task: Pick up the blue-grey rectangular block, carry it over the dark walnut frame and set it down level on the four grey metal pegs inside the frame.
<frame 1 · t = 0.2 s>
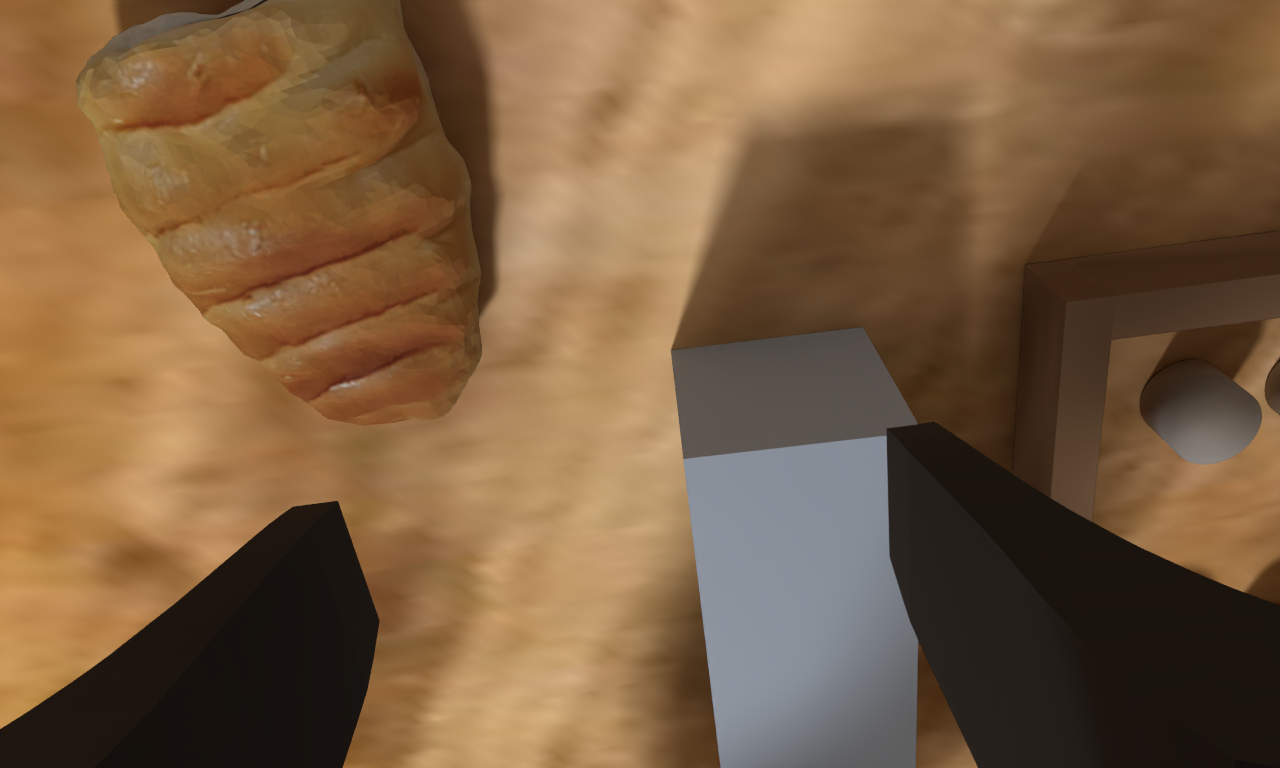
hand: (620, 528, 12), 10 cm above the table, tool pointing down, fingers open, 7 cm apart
peg frame: (1219, 521, 25), on the table
pastry: (335, 174, 20), on the table
blue-grey rectangular block: (779, 539, 25), on the table
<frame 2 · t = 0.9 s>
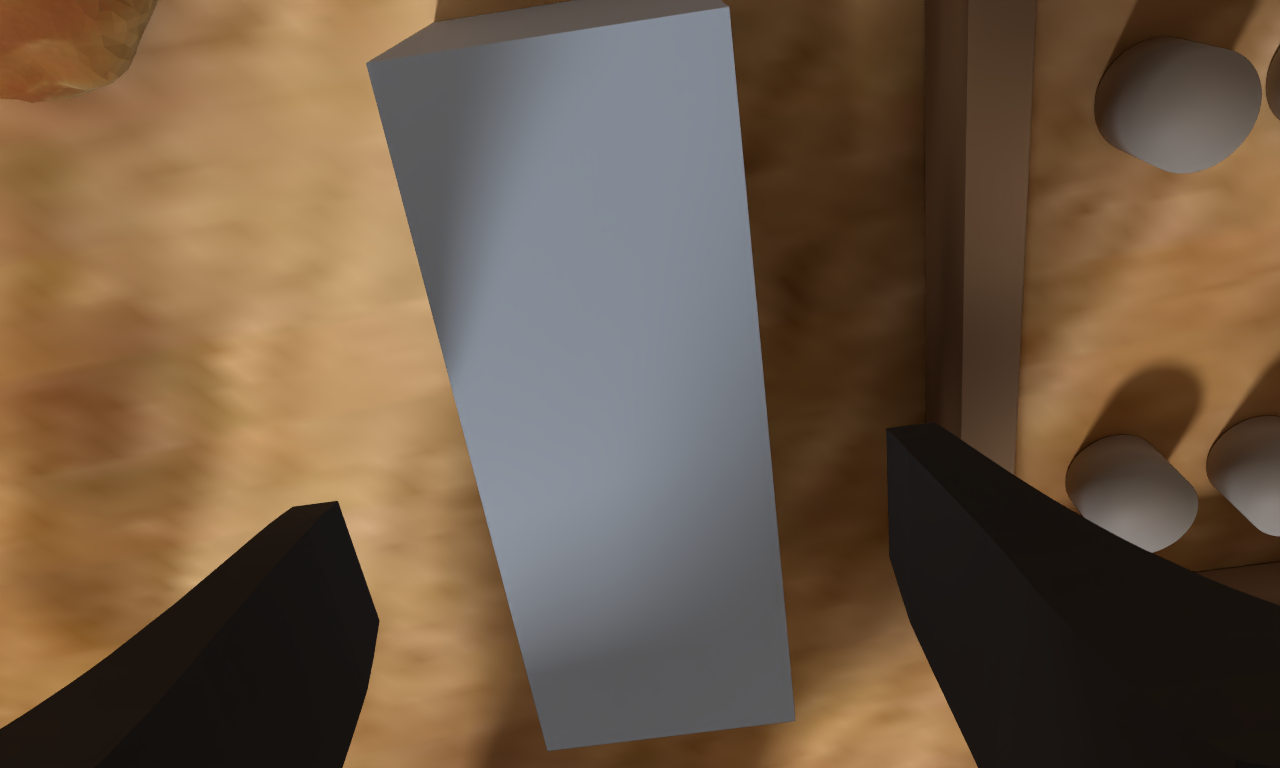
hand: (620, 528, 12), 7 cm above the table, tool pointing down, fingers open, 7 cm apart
peg frame: (1207, 293, 18), on the table
blue-grey rectangular block: (619, 322, 19), on the table
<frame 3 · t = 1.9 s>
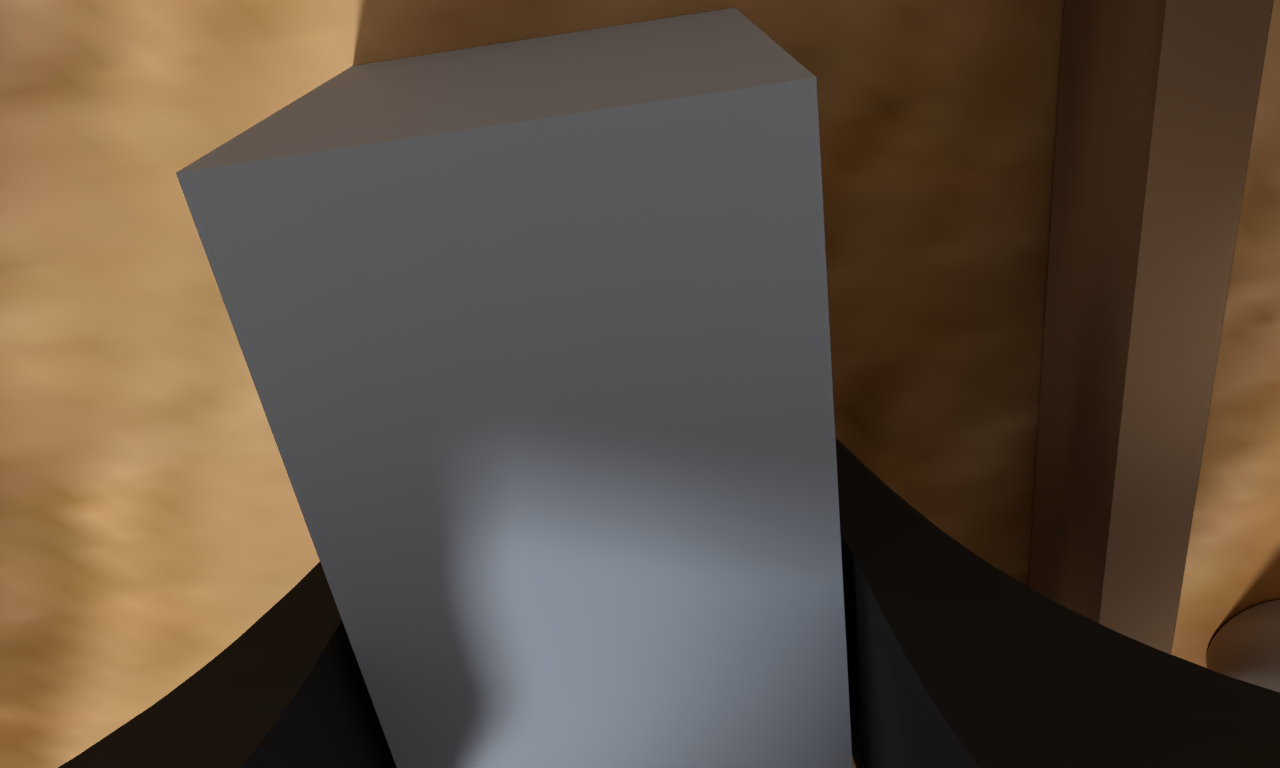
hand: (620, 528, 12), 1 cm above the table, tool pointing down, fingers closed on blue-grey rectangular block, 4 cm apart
blue-grey rectangular block: (619, 467, 14), on the table, touching gripper
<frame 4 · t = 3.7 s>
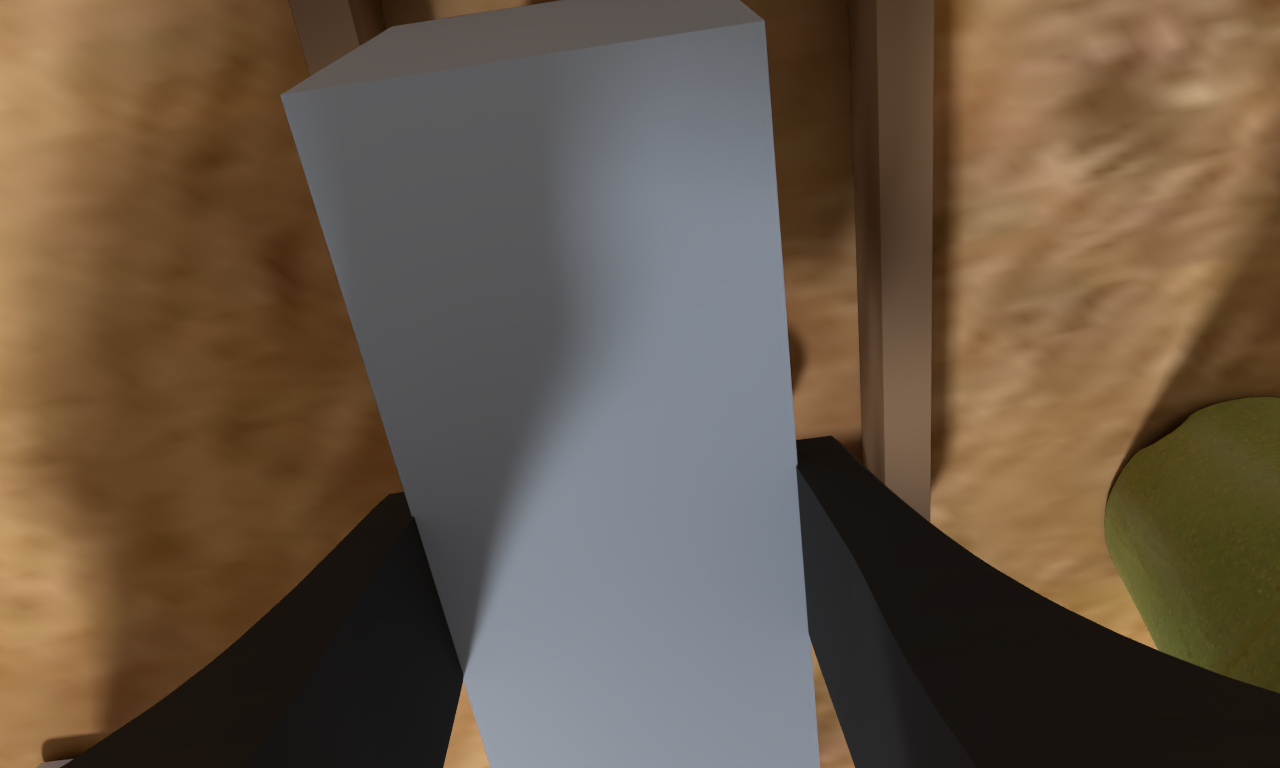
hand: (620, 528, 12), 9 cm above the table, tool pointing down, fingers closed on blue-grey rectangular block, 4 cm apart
plant pot: (1213, 493, 24), on the table
peg frame: (653, 276, 21), on the table
blue-grey rectangular block: (616, 380, 16), point 5 cm above the table, touching gripper
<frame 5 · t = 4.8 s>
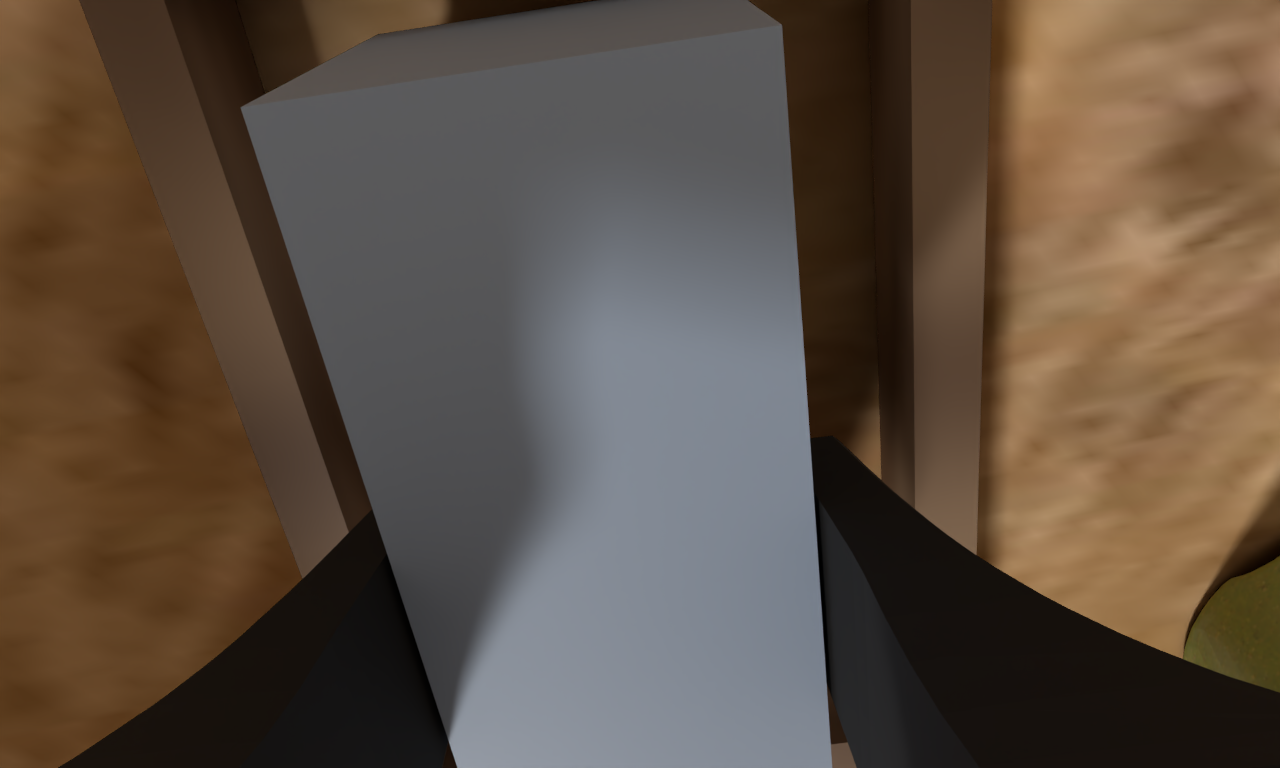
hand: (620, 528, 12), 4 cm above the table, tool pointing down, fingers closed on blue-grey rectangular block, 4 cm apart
peg frame: (618, 378, 16), on the table
blue-grey rectangular block: (617, 410, 15), point 1 cm above the table, touching gripper, peg frame
when the fingers open (4 cm above the table, at t = 5.2 s): blue-grey rectangular block stays where it is, resting on peg frame.
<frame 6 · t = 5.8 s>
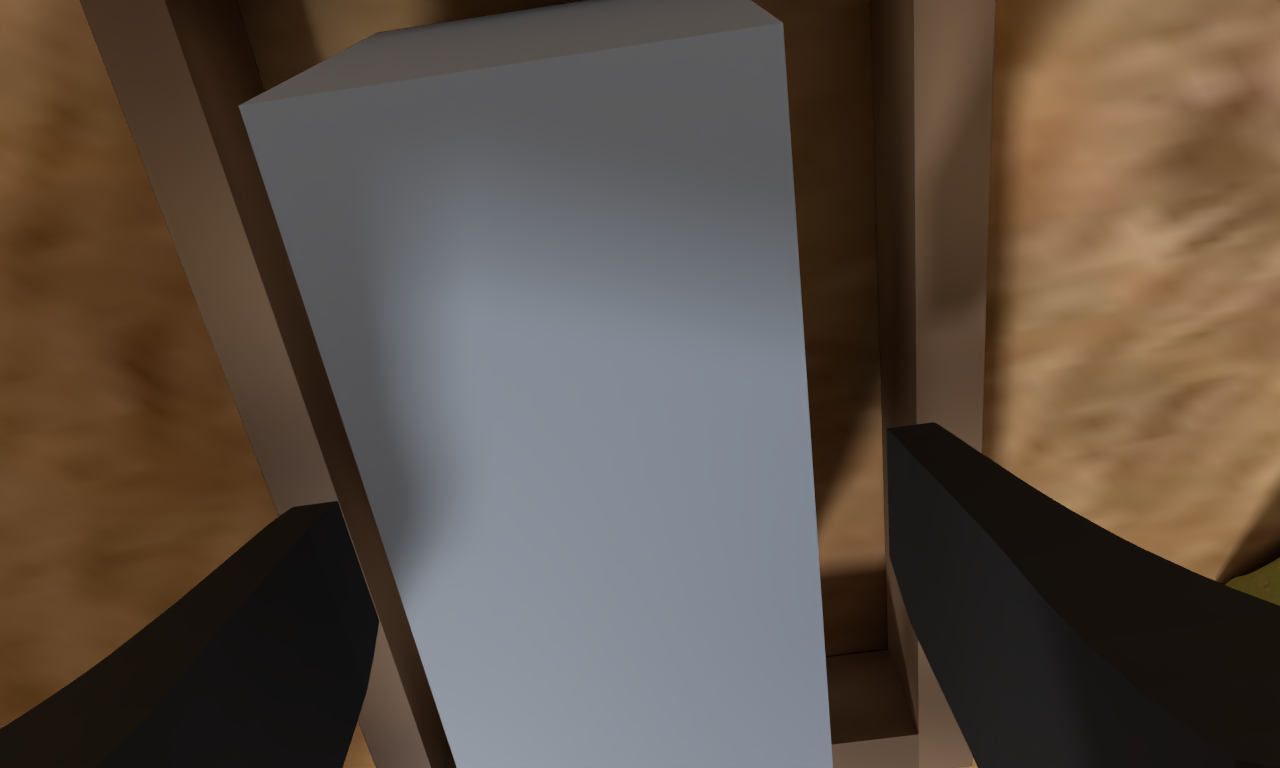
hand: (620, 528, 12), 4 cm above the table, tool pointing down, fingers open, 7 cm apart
peg frame: (619, 377, 16), on the table
blue-grey rectangular block: (618, 410, 15), point 1 cm above the table, touching peg frame
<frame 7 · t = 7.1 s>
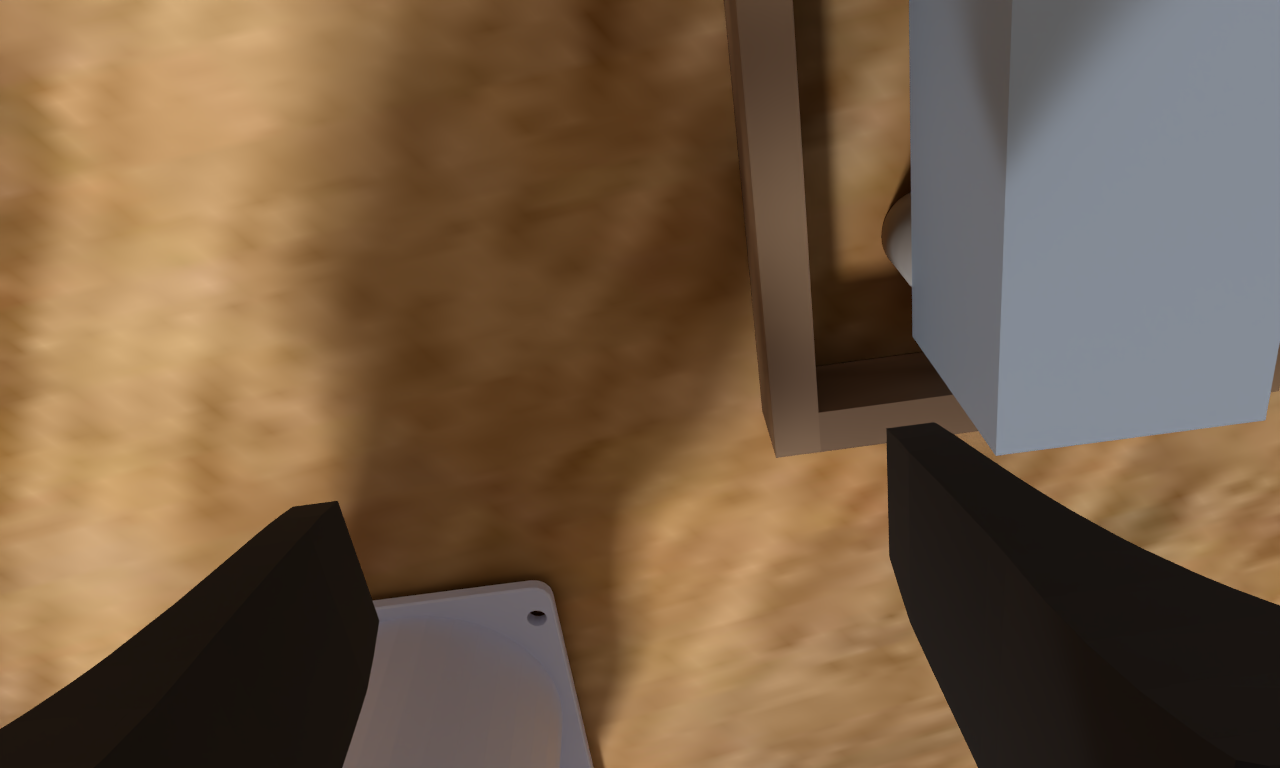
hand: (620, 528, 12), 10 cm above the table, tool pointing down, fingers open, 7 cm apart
peg frame: (999, 31, 19), on the table
blue-grey rectangular block: (1029, 30, 18), point 1 cm above the table, touching peg frame
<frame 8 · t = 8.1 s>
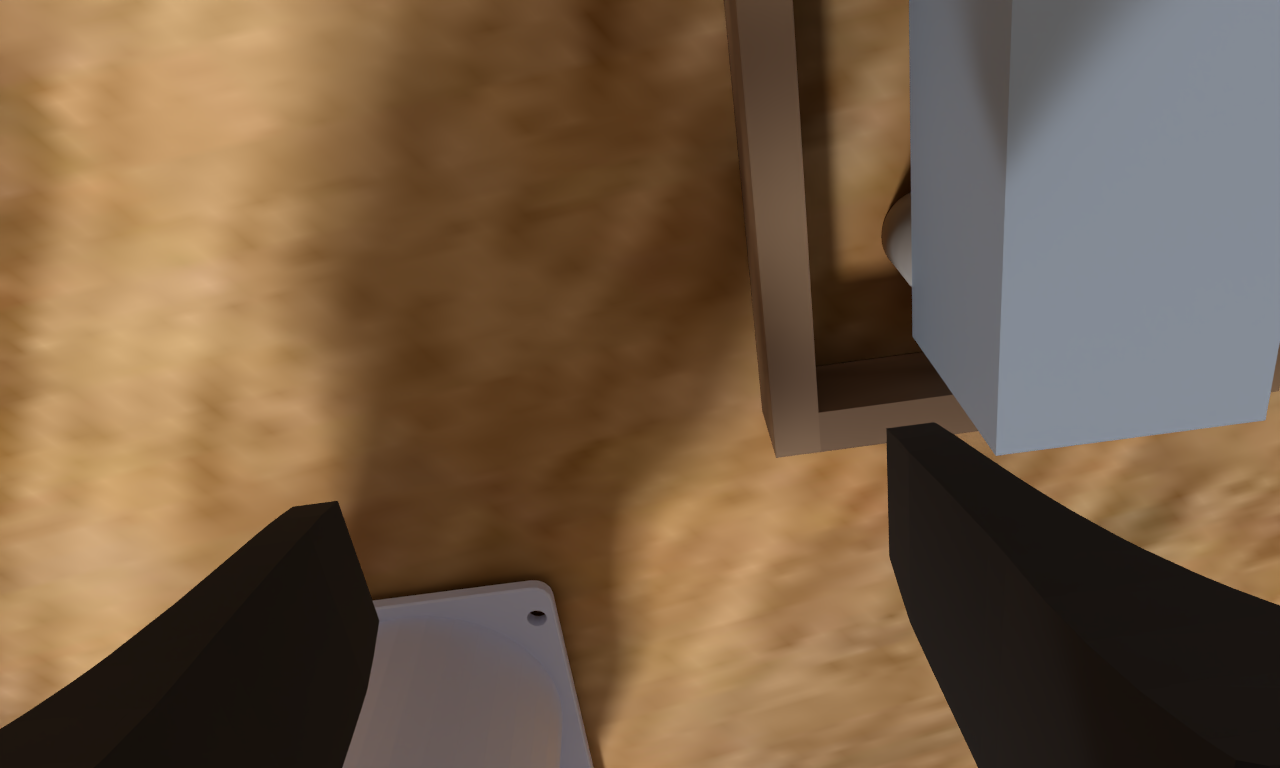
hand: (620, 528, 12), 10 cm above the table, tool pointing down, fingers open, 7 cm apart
peg frame: (999, 31, 19), on the table
blue-grey rectangular block: (1029, 30, 18), point 1 cm above the table, touching peg frame
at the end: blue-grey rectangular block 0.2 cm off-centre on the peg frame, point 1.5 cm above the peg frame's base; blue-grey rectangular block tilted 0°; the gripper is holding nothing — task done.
